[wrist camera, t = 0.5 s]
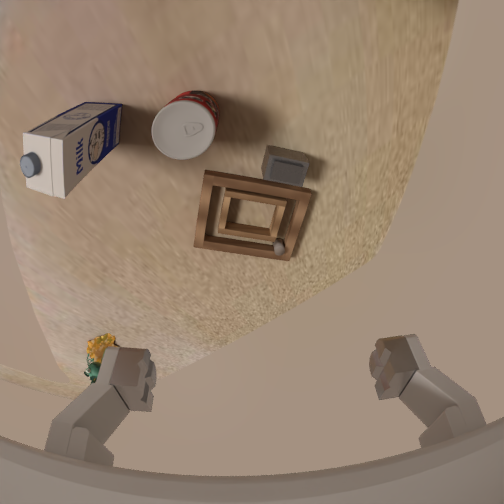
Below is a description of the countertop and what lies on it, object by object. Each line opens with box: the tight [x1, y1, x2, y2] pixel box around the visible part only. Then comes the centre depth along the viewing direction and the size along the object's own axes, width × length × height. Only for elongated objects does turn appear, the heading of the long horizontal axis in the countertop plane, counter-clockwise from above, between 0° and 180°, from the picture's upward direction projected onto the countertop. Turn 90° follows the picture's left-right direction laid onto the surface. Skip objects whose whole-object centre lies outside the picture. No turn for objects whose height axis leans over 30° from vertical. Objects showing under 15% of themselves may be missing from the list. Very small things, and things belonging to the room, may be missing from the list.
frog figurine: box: [84, 333, 118, 385], centre depth 73 cm, size 10×18×15 cm, turn 144°
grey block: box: [261, 145, 309, 187], centre depth 48 cm, size 4×6×6 cm, turn 78°
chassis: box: [194, 170, 312, 261], centre depth 55 cm, size 14×18×3 cm
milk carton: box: [20, 102, 122, 199], centre depth 37 cm, size 7×7×20 cm
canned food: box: [152, 91, 220, 160], centre depth 41 cm, size 8×8×11 cm
